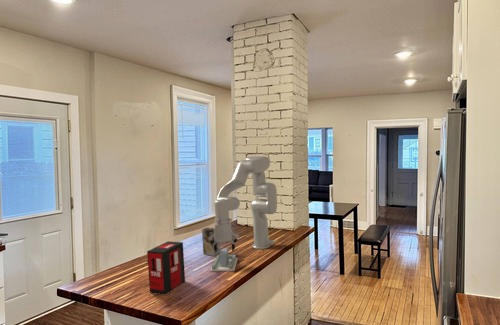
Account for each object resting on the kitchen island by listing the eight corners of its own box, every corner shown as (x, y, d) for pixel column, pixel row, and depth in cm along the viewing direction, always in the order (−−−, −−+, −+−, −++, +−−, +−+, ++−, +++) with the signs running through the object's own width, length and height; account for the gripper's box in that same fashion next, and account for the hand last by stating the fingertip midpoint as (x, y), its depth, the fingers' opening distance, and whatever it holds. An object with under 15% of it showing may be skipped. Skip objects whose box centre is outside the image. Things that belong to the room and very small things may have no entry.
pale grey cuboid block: (228, 260, 198) (228, 248, 198) (226, 266, 188) (225, 254, 188) (222, 260, 198) (222, 248, 198) (220, 266, 188) (219, 254, 188)
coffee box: (220, 253, 216) (219, 228, 215) (215, 256, 210) (213, 230, 209) (208, 251, 220) (207, 227, 219) (202, 254, 214) (201, 229, 213)
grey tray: (237, 259, 202) (237, 254, 202) (234, 270, 184) (234, 265, 184) (215, 260, 203) (215, 255, 202) (210, 271, 185) (210, 266, 184)
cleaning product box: (165, 295, 158) (163, 252, 156) (149, 292, 161) (147, 251, 160) (185, 281, 173) (182, 242, 172) (170, 279, 176) (167, 241, 175)
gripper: (238, 218, 195) (240, 248, 197) (208, 220, 196) (210, 249, 198) (237, 222, 188) (239, 252, 189) (206, 223, 189) (208, 253, 190)
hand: (224, 250), depth 193 cm, fingers open, 9 cm apart
